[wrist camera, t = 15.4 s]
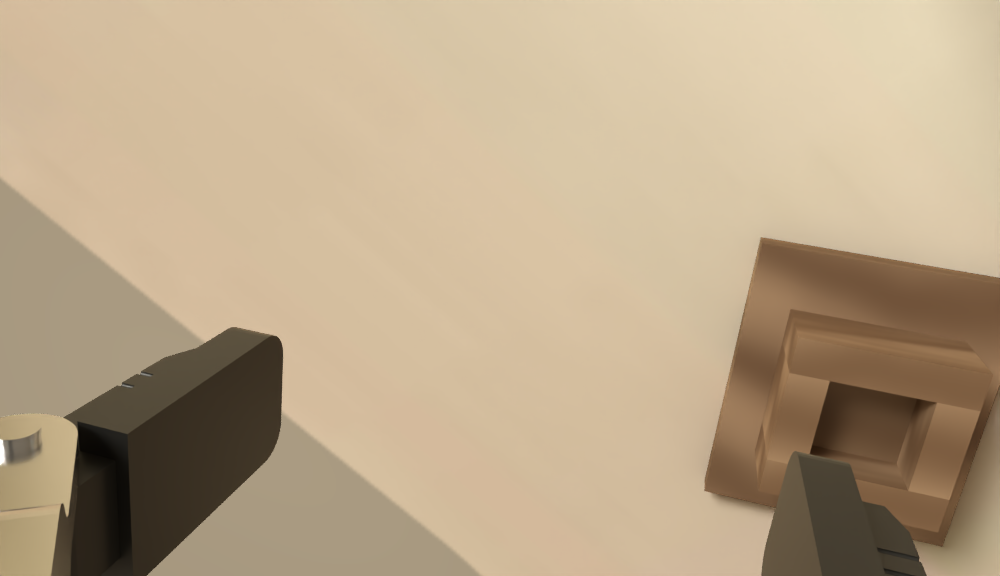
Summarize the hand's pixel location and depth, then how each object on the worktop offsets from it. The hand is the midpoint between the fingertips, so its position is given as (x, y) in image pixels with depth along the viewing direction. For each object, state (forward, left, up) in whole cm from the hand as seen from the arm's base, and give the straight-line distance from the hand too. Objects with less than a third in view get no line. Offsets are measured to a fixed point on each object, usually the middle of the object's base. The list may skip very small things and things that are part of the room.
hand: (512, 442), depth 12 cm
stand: (+10, +12, -30) cm, 34 cm away
